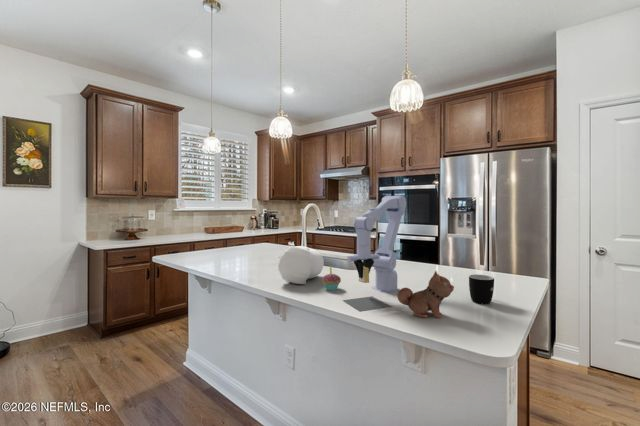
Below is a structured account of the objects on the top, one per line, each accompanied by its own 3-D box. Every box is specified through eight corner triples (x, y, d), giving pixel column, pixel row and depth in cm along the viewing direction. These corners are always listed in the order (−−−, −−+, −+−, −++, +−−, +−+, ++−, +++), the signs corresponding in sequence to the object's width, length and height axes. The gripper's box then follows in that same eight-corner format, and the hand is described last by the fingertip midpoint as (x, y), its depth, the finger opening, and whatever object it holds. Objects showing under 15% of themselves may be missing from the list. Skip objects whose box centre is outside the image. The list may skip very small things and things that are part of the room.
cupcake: (339, 292, 138) (339, 265, 137) (320, 291, 140) (320, 264, 139) (341, 287, 146) (341, 262, 146) (324, 286, 148) (324, 261, 148)
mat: (372, 297, 131) (372, 296, 131) (392, 307, 118) (392, 306, 118) (342, 301, 126) (342, 300, 126) (359, 312, 113) (359, 311, 113)
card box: (363, 280, 134) (362, 266, 135) (369, 282, 130) (368, 267, 130) (358, 281, 134) (358, 267, 134) (364, 283, 129) (364, 268, 129)
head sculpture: (296, 242, 178) (277, 239, 151) (330, 250, 172) (316, 247, 146) (288, 276, 176) (267, 278, 150) (322, 285, 170) (307, 289, 144)
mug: (493, 307, 119) (494, 280, 119) (467, 303, 123) (468, 278, 123) (493, 298, 130) (493, 274, 129) (469, 295, 134) (469, 272, 134)
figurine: (457, 320, 105) (457, 276, 105) (398, 317, 109) (398, 274, 108) (450, 310, 115) (450, 270, 115) (396, 307, 118) (396, 268, 118)
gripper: (373, 243, 138) (373, 273, 138) (343, 244, 132) (343, 276, 133) (382, 245, 131) (382, 277, 132) (351, 247, 126) (351, 280, 126)
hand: (363, 277), depth 132 cm, fingers closed on card box, 2 cm apart
